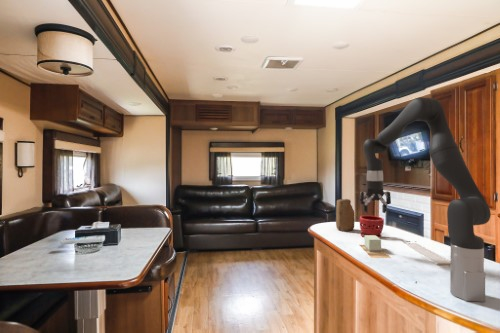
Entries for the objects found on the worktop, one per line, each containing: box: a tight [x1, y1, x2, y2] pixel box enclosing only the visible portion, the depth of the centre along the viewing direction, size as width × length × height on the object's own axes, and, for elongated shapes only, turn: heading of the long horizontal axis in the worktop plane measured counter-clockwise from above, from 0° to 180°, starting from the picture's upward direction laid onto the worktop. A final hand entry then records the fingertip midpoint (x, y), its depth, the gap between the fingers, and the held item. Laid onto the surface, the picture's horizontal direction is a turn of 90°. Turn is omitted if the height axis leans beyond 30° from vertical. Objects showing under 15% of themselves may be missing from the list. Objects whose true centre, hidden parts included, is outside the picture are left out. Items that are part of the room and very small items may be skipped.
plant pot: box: [359, 215, 385, 238], centre depth 176 cm, size 13×13×12 cm
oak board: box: [359, 244, 392, 259], centre depth 147 cm, size 20×9×2 cm, turn 175°
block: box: [335, 198, 356, 232], centre depth 194 cm, size 11×8×20 cm
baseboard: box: [404, 242, 451, 266], centre depth 146 cm, size 30×3×10 cm
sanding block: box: [364, 235, 382, 252], centre depth 149 cm, size 8×6×6 cm
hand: (375, 212), depth 147 cm, fingers open, 8 cm apart
